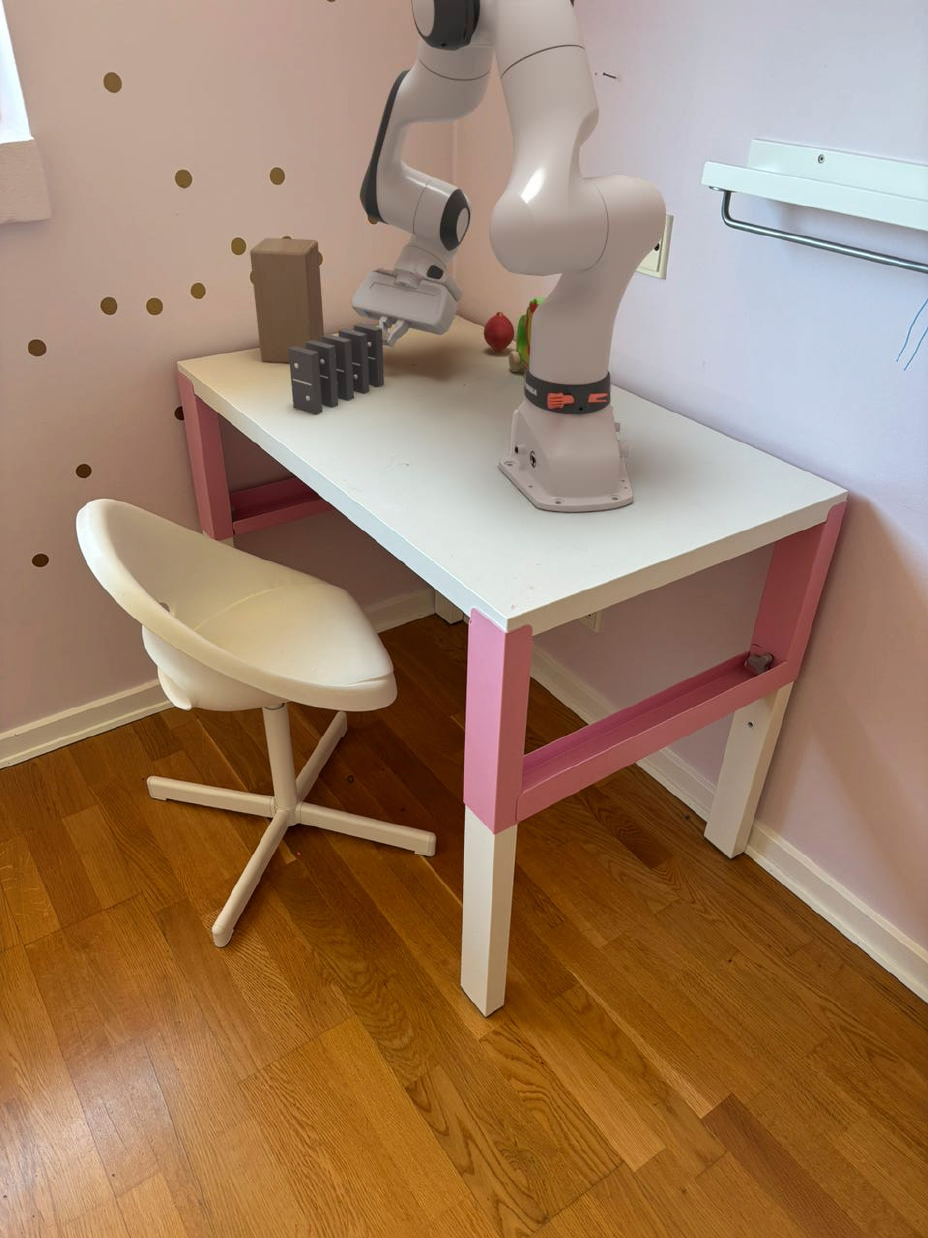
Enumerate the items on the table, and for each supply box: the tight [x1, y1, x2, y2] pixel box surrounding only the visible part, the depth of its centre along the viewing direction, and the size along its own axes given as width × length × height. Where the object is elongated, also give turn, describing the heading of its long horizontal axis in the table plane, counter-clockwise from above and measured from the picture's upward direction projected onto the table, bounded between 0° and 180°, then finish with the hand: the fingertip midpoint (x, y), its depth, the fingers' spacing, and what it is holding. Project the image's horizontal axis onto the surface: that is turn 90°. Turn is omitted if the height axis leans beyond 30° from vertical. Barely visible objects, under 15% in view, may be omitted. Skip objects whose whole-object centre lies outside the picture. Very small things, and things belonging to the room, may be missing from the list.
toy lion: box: [508, 296, 547, 380], centre depth 166 cm, size 16×5×15 cm, turn 14°
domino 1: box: [288, 346, 323, 416], centre depth 155 cm, size 2×5×10 cm, turn 55°
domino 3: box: [322, 334, 355, 402], centre depth 160 cm, size 2×5×10 cm, turn 55°
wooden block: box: [249, 237, 325, 364], centre depth 175 cm, size 10×10×20 cm
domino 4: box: [337, 328, 370, 395], centre depth 163 cm, size 2×5×10 cm, turn 55°
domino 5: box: [353, 322, 385, 388], centre depth 166 cm, size 2×5×10 cm, turn 55°
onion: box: [483, 310, 515, 353], centre depth 181 cm, size 6×6×8 cm
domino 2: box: [306, 340, 339, 409], centre depth 157 cm, size 2×5×10 cm, turn 54°
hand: (384, 343), depth 168 cm, fingers closed
